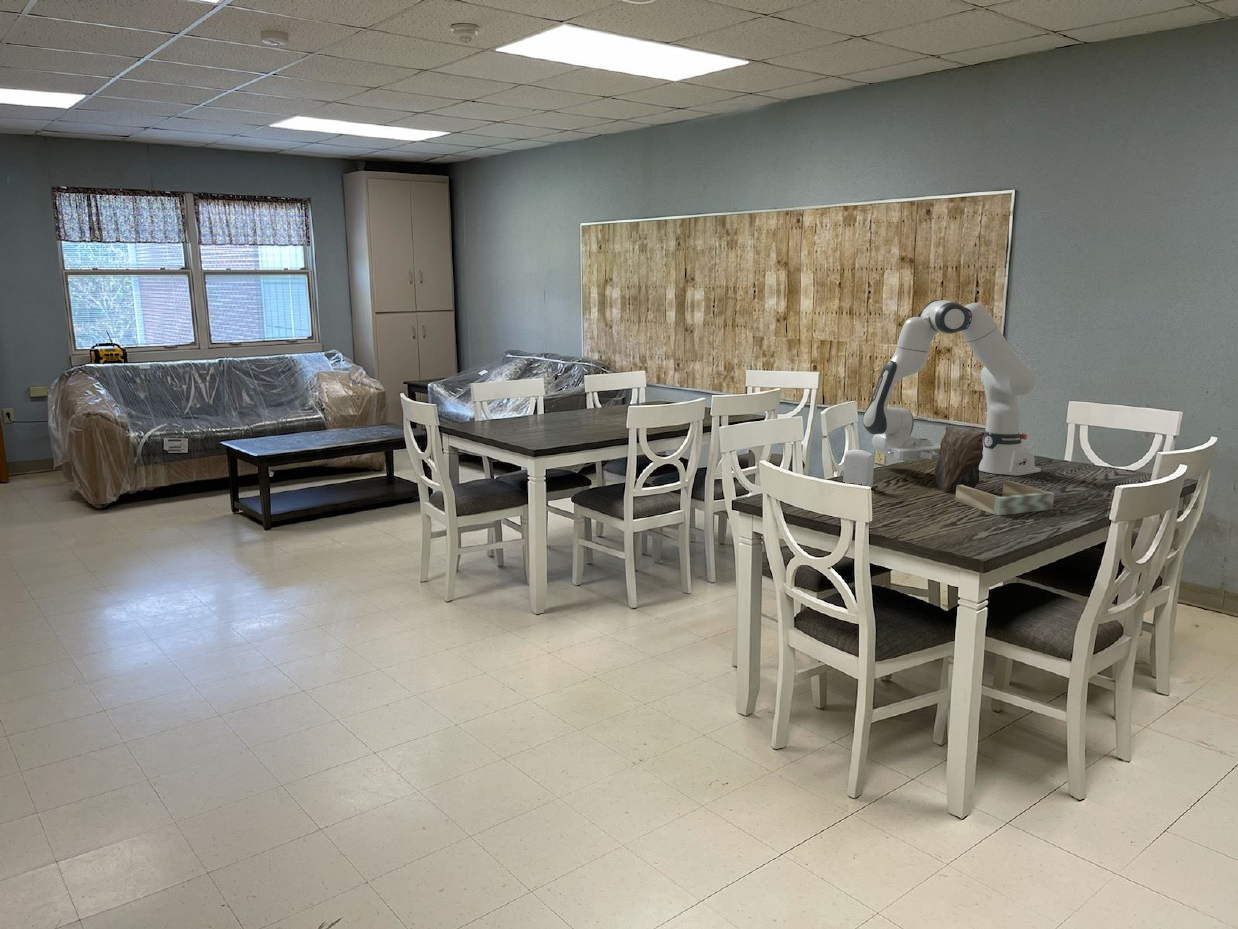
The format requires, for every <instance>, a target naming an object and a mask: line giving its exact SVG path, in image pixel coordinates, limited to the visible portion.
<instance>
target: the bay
mask: <svg viewBox="0 0 1238 929" xmlns="http://www.w3.org/2000/svg"><path fill="white" fill-rule="evenodd" d="M1054 500H1055V492H1051V491H1049V490H1048V491H1047V490H1045V489H1041V488H1037V487H1034V486H1030V485H1026V484H1023V483H1020V482H1017V481H1012V480H1003V486H1002V495H1001V496H999V495H995V494H992V493H990V492H986V491H983V490H980V489H977V488H970V487H967V486H964V485H957V486H956V492H955V498H954V501H955V502H957V503H960V504H963V505H966V506H970V507H973V508H975V509H979V510H981V511H984V512H987V513H991V514H993V515H997V516H1006V515H1015V514H1023V513H1030V512H1032V513H1033V512H1041V511H1049V510H1053V509H1054Z"/></svg>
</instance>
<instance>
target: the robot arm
mask: <svg viewBox="0 0 1238 929" xmlns="http://www.w3.org/2000/svg"><path fill="white" fill-rule="evenodd" d="M958 332H961V334H963V337H964V339H965V341H966V342H967V345H968V346H969V348H970V349H971V351H972V353H973V354H974V357H975V359H977V360H978V362H980V363H981V365H983V367H982V369H981V371H980V381H981V383H982V384H983V388H984V393H985V401H986V421H985V430H984V431H983V432H984V436H983V453H982V454H983V459H982V460H981V462H980V465H979V472H983V473H984V472H985V473H988V474H989V473H990V474H994V475H995V474H996V475H1006V476H1007V475H1008V476H1015V477H1017V476H1023V475H1030V474H1034V473H1035V474H1036V473H1041V472H1042V469H1041V467H1038V466H1035V455H1034V453H1033V452H1031V451H1030V449H1028V448H1027V447H1026V446H1025V445H1024V444H1023V443H1022V440H1025V441H1026V440H1027V439H1028V437H1029V435H1028V434H1027V433H1020V424H1021V414H1022V413H1021V408H1020V407H1019V404H1018V399H1017V396H1020V397H1021V396H1025V395H1028V394H1029V393H1031V392H1032V391H1033V390H1034V389H1035V387H1036V383H1037V378H1036V374H1035V373H1034V372H1035V371H1033V370H1032V369H1031V368H1029V367H1028V366H1027V365H1026V363H1024V361H1023V360H1022V359H1021V358H1020V356H1019V355H1018V354H1017V353H1016V352H1015V350H1014V349H1013V348H1012V347H1011V345H1010V344H1009V342H1008V341H1007V340H1006V338H1005V336H1004V335H1003V333H1002V331H1001V329H1000V328H999V326H998V324H997V323H996V320H995V319H994V317H993V316H992V315H991V314H990V312H989V311H988V310H987V309H986V308H985V306H984V305H983V304H981V303H979V302H971V303H968V304H966V305H964V306H963V305H962V304H960V303H957V302H954V301H951V300H947V299H944V300H943V299H935V300H934V299H933V300H931V301H930V302H928V303H927V304H925V306H924V307H923V308H922V309H921V311H920V312H919V313H918V314H917V316H913V317H909V318H907V319H906V320H905V321H904V323H903V326H902V328H901V331H900V333H899V335H898V336H899V337H898V340H897V343H896V347H895V351H894V353H893V355H892V357H891V358H890V360H889V361H888V362H886V364H885V365H884V366H883V368H882V369H881V372H880V375H879V377H878V380H877V383H876V386H875V388H874V391H873V393H872V396H871V398H870V401H869V404H868V406H867V408H866V409H865V411H864V413H863V416H862V424H863V427H864V428H865V430H866V431H867V432H868V433H869V434H871V435H873V436H872V439H871V442H872V446H873V448H874V450H875V451H876V452H877V453H879V454H881V455H882V456H886V457H888V458H892V459H895V460H897V461H902V462H905V463H914V461H918V460H927V459H928V460H939V457H940V456H941V453H940V447H941V446H940V444H941V443H937V442H934V441H931V439H929V438H917V437H913V436H911V435H912V432H913V430H914V425H915V421H914V420H915V419H914V415H913V414H912V412H911V410H909V409H908V408H905V407H897V406H893V407H891V406H887V405H888V404H889V403H888V402H889V399H890V397H891V394H892V392H893V389H894V387H895V385H896V384H897V383H898V382H899V381H900V380H902V379H904V378H907V377H909V376H913V375H915V374H917V373H920V371H922V370H923V368H924V367H925V366H926V364H927V361H928V358H929V352H930V348H931V343H932V341H933V339H934V337H935V336H936V335H937V334H938V333H940V334H941V333H942V334H943V333H944V334H956V333H958Z"/></svg>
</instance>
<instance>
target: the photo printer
mask: <svg viewBox="0 0 1238 929" xmlns="http://www.w3.org/2000/svg"><path fill="white" fill-rule="evenodd" d="M843 459H844V461H843V478H842V479H843V481H842V482H845V483H855V484H862V485H866V486H871V488H873V485H874V470H875V468H874V467H875V456H874V455H873V454H872V453H871V452H868V451H867V450H862V449H850V450H846V451H845V454H844V458H843Z"/></svg>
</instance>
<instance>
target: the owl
mask: <svg viewBox="0 0 1238 929" xmlns="http://www.w3.org/2000/svg"><path fill="white" fill-rule="evenodd" d="M983 436H984V431H978V430H976V429H974V428H958V427H954V426H946V427H945V433H944V435H943V438H941V442H940V443H939V444H940V446H941V447H940V453H941V456H940V457H939V458H938V459H937V462H936V464H935V468H934V474H935V483H936V485H935V486H936V487H938V489H940V491H942V493H944V494H945V493H956V486H957V485H964V486H967V487H970V488H974V489H976V486H977V485H978V484H979V483H980V470H979V465H980V462H981V460H982V459H983V454H982V453H983V444H984V441H983Z"/></svg>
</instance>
